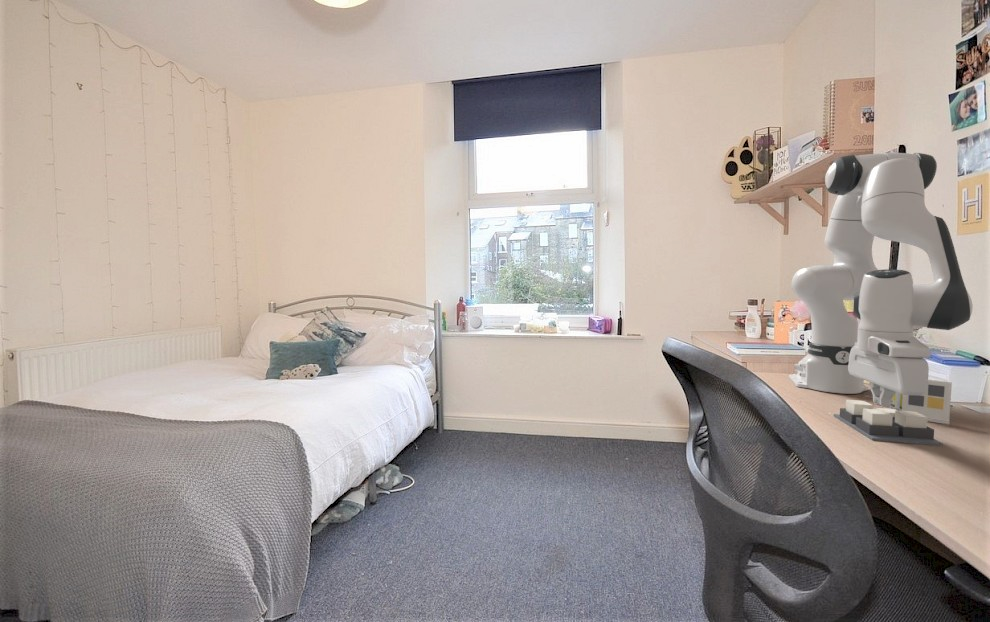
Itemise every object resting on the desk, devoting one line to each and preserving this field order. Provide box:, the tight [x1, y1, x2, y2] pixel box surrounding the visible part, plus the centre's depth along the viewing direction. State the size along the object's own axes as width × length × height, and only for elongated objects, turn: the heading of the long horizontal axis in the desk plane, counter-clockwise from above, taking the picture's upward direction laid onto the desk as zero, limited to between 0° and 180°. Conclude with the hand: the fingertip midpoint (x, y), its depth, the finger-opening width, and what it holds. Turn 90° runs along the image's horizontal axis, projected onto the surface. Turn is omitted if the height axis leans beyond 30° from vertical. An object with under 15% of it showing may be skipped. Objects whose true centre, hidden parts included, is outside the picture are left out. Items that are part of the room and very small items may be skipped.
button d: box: [862, 408, 893, 426], centre depth 90 cm, size 4×4×3 cm
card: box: [902, 379, 953, 425], centre depth 98 cm, size 2×8×10 cm, turn 44°
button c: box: [845, 399, 874, 415], centre depth 97 cm, size 4×4×3 cm
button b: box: [895, 410, 928, 429], centre depth 88 cm, size 4×4×3 cm
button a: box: [875, 407, 899, 417], centre depth 95 cm, size 4×4×3 cm
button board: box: [833, 407, 944, 446], centre depth 93 cm, size 16×12×3 cm
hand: (881, 404), depth 89 cm, fingers closed
